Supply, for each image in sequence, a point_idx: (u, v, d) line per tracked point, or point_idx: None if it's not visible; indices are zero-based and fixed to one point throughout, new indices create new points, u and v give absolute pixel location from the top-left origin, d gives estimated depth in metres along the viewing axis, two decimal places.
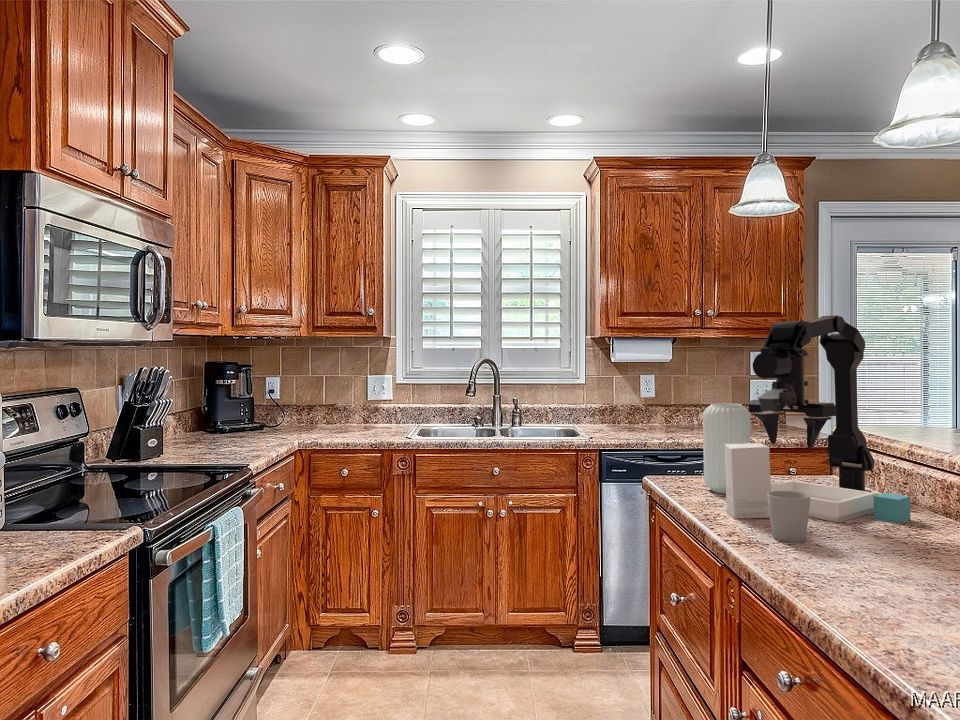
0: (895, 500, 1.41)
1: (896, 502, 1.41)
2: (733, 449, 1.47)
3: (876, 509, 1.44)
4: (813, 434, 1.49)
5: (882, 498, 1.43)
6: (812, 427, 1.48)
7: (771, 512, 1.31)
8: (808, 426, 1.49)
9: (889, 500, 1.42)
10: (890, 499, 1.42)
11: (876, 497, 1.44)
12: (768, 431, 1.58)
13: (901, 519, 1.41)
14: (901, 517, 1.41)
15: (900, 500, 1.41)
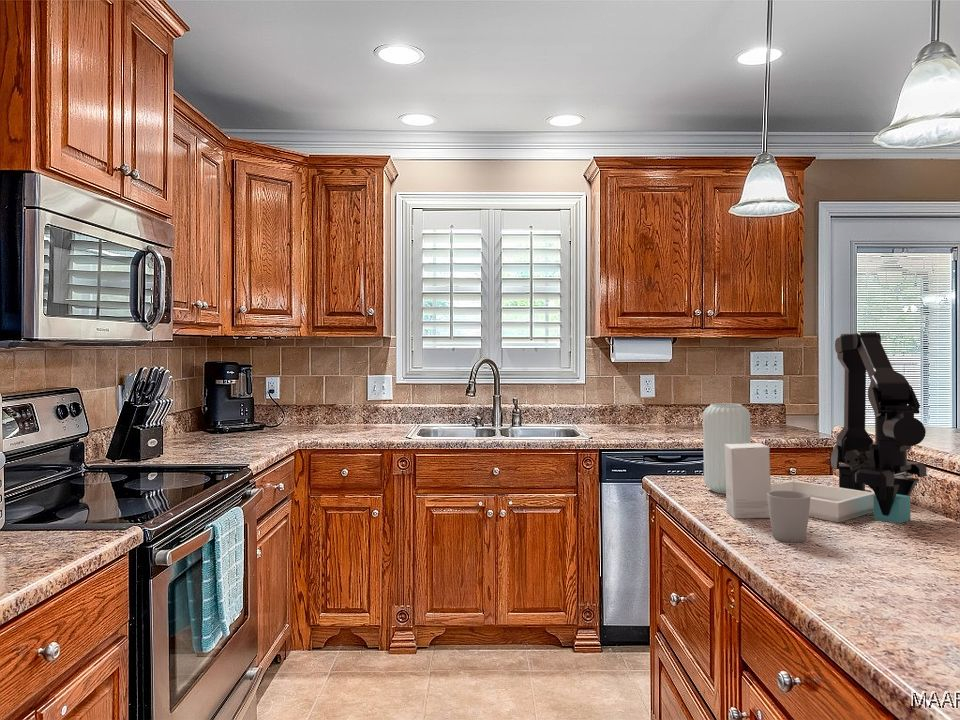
0: (895, 499, 1.41)
1: (896, 502, 1.41)
2: (733, 449, 1.47)
3: (876, 509, 1.44)
4: (880, 500, 1.42)
5: None
6: (874, 492, 1.43)
7: (771, 512, 1.31)
8: None
9: None
10: None
11: None
12: None
13: (901, 518, 1.41)
14: (901, 516, 1.41)
15: (900, 499, 1.41)
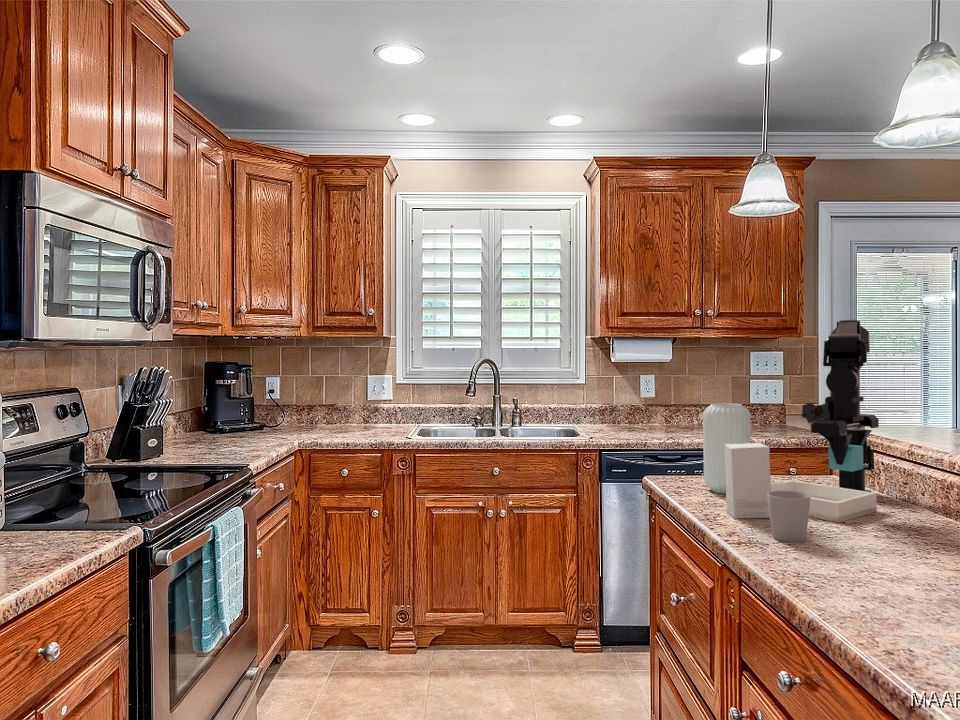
0: (849, 449, 1.47)
1: (850, 451, 1.47)
2: (733, 449, 1.47)
3: (831, 458, 1.50)
4: (834, 449, 1.48)
5: None
6: (829, 442, 1.49)
7: (771, 512, 1.31)
8: None
9: None
10: None
11: None
12: None
13: (854, 467, 1.47)
14: (854, 465, 1.47)
15: (853, 449, 1.47)
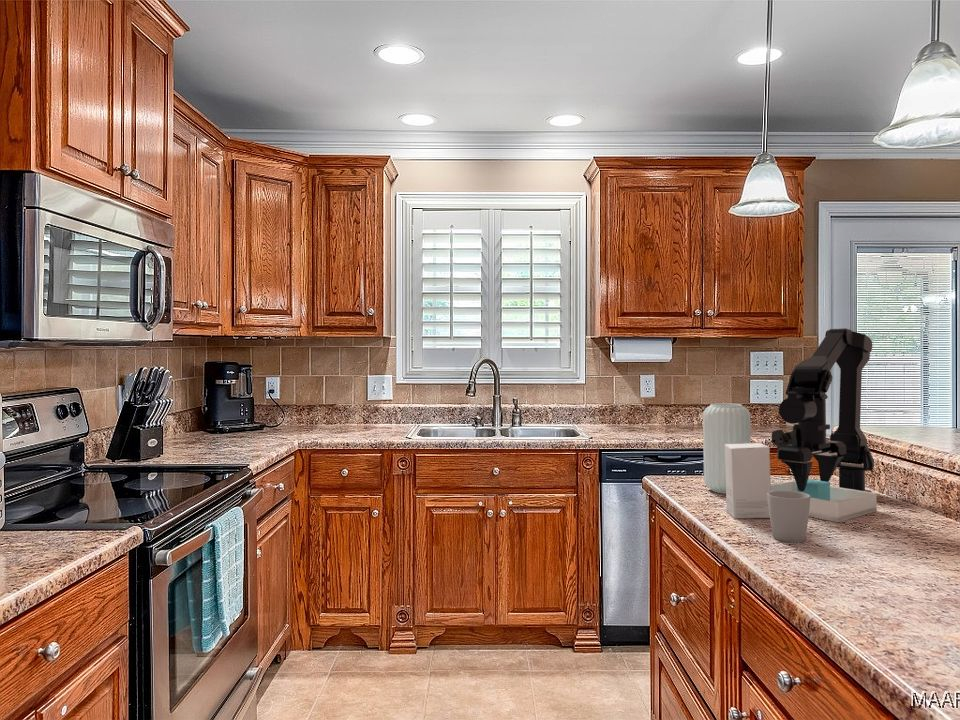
0: (815, 485, 1.52)
1: (816, 487, 1.52)
2: (733, 449, 1.47)
3: None
4: (796, 476, 1.52)
5: None
6: (791, 469, 1.53)
7: (771, 512, 1.31)
8: None
9: (809, 485, 1.53)
10: (810, 484, 1.53)
11: None
12: None
13: None
14: None
15: (819, 485, 1.52)
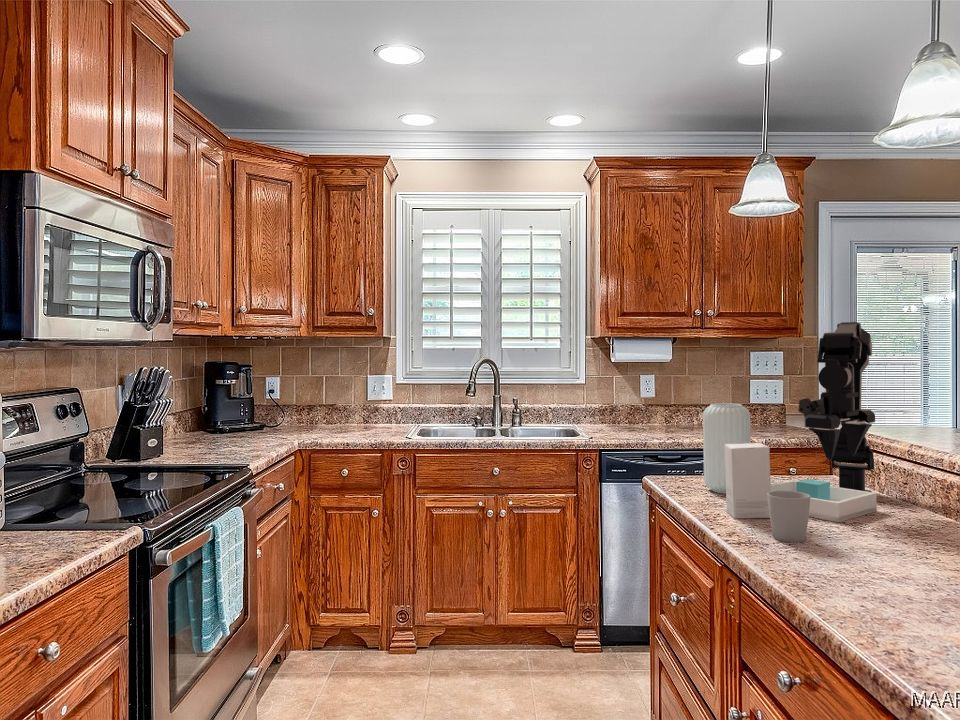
0: (815, 485, 1.52)
1: (816, 487, 1.52)
2: (733, 449, 1.47)
3: None
4: (824, 444, 1.52)
5: (804, 483, 1.54)
6: (818, 437, 1.52)
7: (771, 512, 1.31)
8: None
9: (809, 485, 1.53)
10: (810, 484, 1.53)
11: (799, 483, 1.55)
12: None
13: None
14: None
15: (819, 485, 1.52)
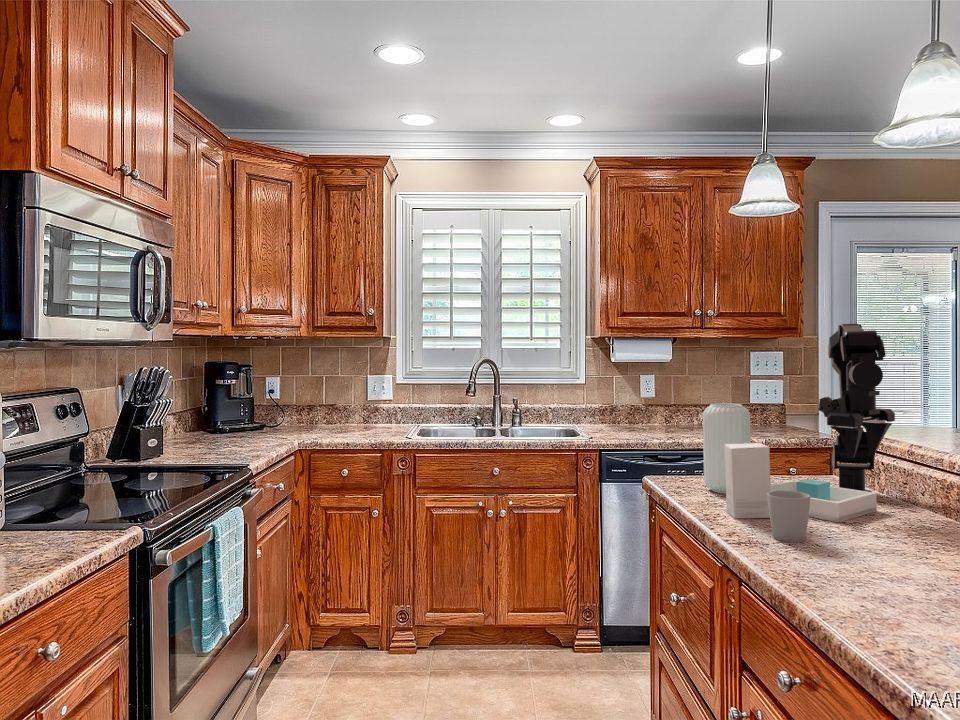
0: (815, 485, 1.52)
1: (816, 487, 1.52)
2: (733, 449, 1.47)
3: None
4: (846, 443, 1.51)
5: (804, 483, 1.54)
6: (840, 435, 1.51)
7: (771, 512, 1.31)
8: None
9: (809, 485, 1.53)
10: (810, 484, 1.53)
11: (799, 483, 1.55)
12: None
13: None
14: None
15: (819, 485, 1.52)
